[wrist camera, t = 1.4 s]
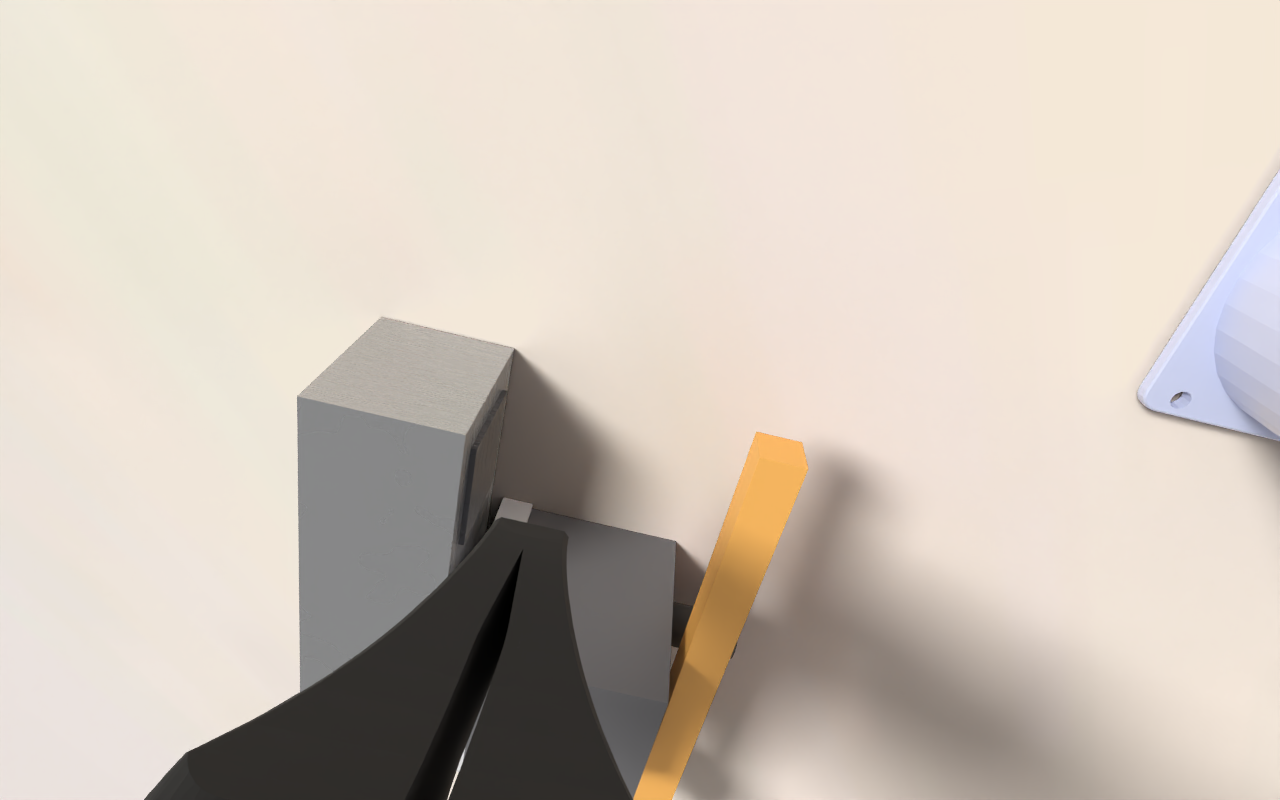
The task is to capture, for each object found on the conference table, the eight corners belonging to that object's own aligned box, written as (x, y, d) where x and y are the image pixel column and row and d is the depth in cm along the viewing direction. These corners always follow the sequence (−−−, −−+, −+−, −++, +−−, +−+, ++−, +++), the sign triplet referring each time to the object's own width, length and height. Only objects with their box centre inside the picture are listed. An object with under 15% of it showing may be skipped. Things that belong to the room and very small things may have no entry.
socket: (519, 349, 21) (471, 436, 17) (464, 699, 29) (421, 822, 24) (381, 316, 21) (297, 396, 17) (362, 677, 29) (301, 797, 24)
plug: (751, 553, 24) (767, 719, 19) (712, 651, 27) (716, 826, 21) (503, 497, 24) (441, 648, 18) (486, 601, 26) (427, 765, 21)
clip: (832, 449, 18) (842, 483, 17) (665, 841, 27) (663, 884, 25) (725, 424, 18) (727, 456, 17) (592, 826, 27) (586, 868, 25)
